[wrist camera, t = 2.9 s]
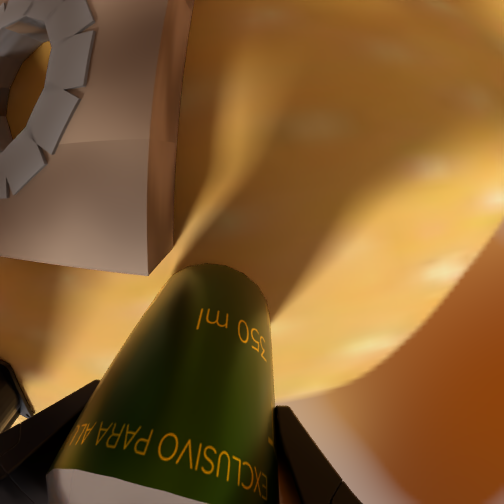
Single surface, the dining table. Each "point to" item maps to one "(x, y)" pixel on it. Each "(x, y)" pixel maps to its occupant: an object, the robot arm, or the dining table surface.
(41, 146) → the plate
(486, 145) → the dining table surface
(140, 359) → the beer can
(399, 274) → the dining table surface
